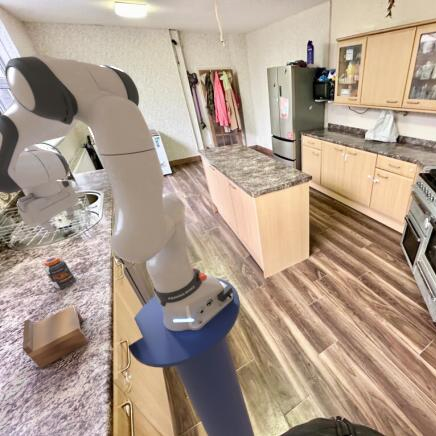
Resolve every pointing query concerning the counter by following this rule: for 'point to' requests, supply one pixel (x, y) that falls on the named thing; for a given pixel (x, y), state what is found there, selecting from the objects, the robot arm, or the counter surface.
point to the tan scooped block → (53, 336)
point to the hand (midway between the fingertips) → (62, 224)
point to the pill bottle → (58, 272)
